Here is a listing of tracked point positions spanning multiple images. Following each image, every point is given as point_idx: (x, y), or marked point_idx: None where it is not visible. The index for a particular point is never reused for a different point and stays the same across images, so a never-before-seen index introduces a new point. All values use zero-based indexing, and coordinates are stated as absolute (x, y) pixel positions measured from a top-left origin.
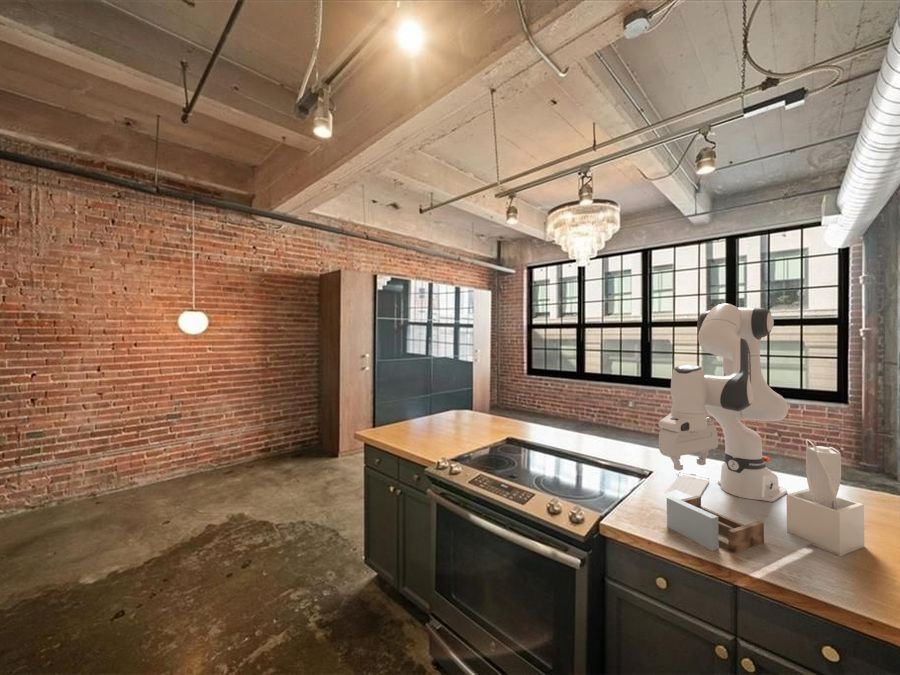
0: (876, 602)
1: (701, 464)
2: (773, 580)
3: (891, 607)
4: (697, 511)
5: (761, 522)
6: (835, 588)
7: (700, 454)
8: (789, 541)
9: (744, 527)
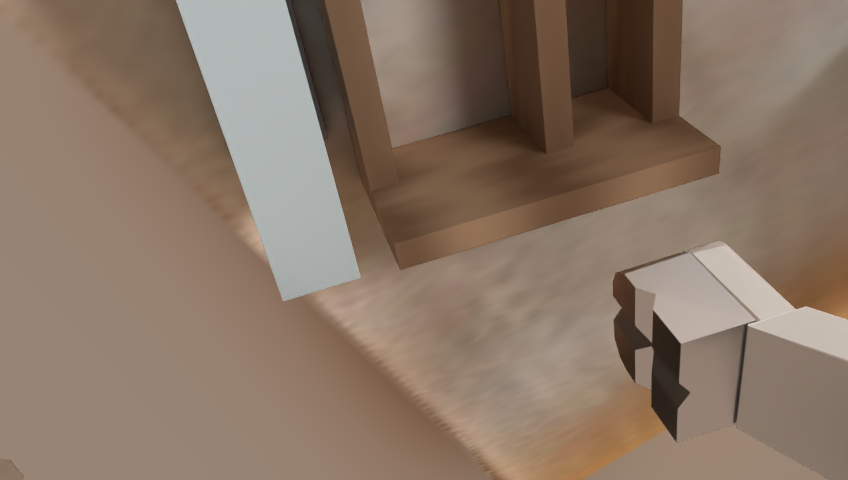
0: (618, 433)
1: (621, 356)
2: (391, 342)
3: (631, 449)
4: (247, 183)
5: (712, 166)
6: (578, 379)
7: (841, 383)
8: (819, 67)
9: (539, 217)
